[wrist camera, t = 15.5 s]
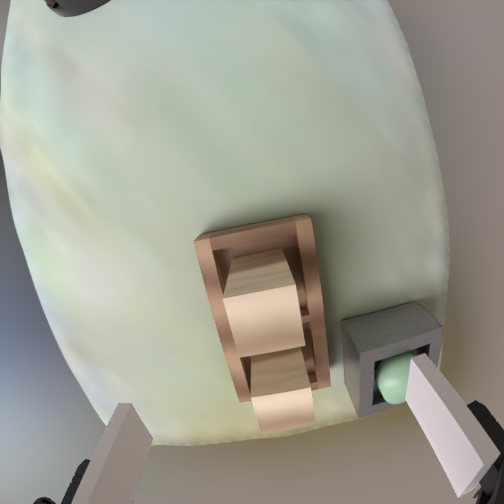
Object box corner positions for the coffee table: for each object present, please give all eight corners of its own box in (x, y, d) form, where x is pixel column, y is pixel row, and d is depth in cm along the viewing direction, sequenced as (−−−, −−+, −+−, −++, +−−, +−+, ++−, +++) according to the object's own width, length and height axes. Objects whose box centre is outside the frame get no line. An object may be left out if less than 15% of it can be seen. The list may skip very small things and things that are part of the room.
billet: (232, 258, 29) (222, 298, 20) (281, 248, 29) (295, 284, 19) (243, 303, 31) (239, 357, 21) (290, 293, 30) (305, 345, 21)
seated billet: (251, 337, 32) (250, 397, 22) (295, 329, 31) (310, 387, 22) (259, 371, 33) (261, 433, 23) (301, 363, 33) (315, 424, 23)
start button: (375, 357, 28) (384, 373, 25) (419, 342, 27) (431, 356, 24) (373, 393, 29) (381, 409, 26) (414, 379, 29) (425, 394, 26)
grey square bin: (341, 320, 33) (359, 353, 26) (414, 301, 32) (443, 326, 25) (344, 382, 35) (358, 418, 28) (410, 363, 34) (431, 392, 28)
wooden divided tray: (199, 234, 30) (193, 241, 27) (305, 213, 29) (311, 218, 26) (240, 385, 35) (239, 402, 32) (325, 370, 34) (330, 386, 31)
